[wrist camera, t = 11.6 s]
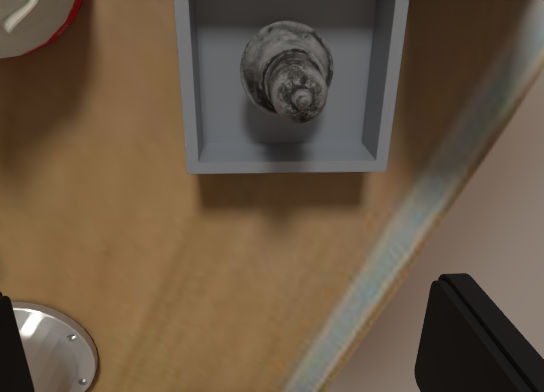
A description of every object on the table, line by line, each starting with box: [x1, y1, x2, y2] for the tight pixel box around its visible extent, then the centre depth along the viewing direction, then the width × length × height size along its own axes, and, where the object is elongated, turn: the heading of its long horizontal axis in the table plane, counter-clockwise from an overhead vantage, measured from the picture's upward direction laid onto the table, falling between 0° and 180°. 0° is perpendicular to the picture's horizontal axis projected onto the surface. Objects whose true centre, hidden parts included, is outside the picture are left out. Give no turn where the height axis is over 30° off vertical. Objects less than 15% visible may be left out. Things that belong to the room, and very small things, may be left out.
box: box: [174, 0, 409, 174], centre depth 29 cm, size 14×14×5 cm
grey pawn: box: [240, 21, 333, 123], centre depth 25 cm, size 6×6×12 cm
